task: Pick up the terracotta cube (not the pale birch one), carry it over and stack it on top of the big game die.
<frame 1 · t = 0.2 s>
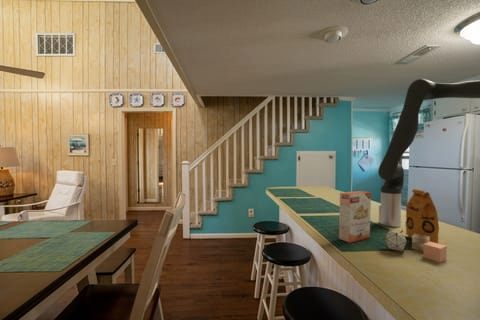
birch block: (420, 248, 95), on the kitchen counter
cracker box: (354, 239, 106), on the kitchen counter
coffee package: (421, 241, 104), on the kitchen counter
game die: (395, 250, 94), on the kitchen counter
terracotta block: (434, 258, 86), on the kitchen counter
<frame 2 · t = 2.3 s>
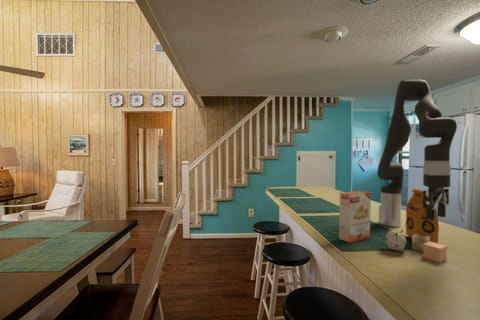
hand: (436, 218, 86), 15 cm above the kitchen counter, tool pointing down, fingers open, 8 cm apart
nothing on the kitchen counter moved.
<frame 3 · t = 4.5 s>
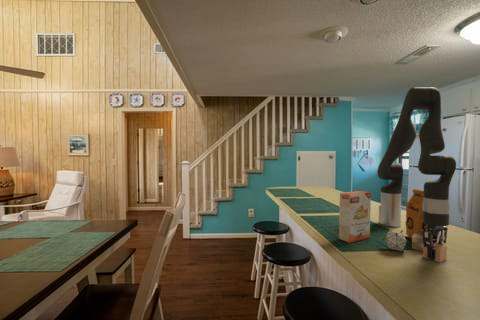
hand: (434, 256, 86), 0 cm above the kitchen counter, tool pointing down, fingers closed on terracotta block, 5 cm apart
terracotta block: (434, 258, 86), on the kitchen counter, touching gripper
everything else where it was.
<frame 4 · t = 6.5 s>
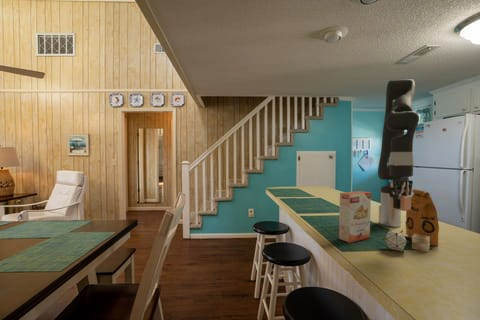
hand: (400, 207, 92), 17 cm above the kitchen counter, tool pointing down, fingers closed on terracotta block, 5 cm apart
terracotta block: (400, 208, 92), point 17 cm above the kitchen counter, touching gripper
everything else where it was.
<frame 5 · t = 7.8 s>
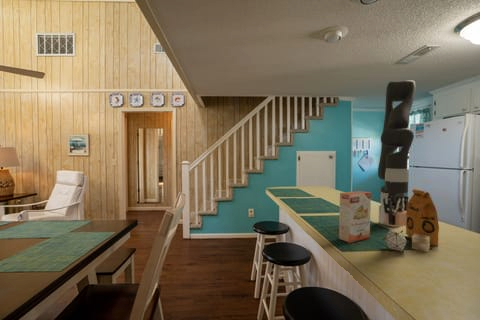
hand: (395, 223, 93), 11 cm above the kitchen counter, tool pointing down, fingers closed on terracotta block, 5 cm apart
terracotta block: (395, 224, 93), point 10 cm above the kitchen counter, touching gripper
everything else where it was.
when the fingers open (10 cm above the kitchen counter, at t = 8.9 s): terracotta block drops 1 cm, resting on game die.
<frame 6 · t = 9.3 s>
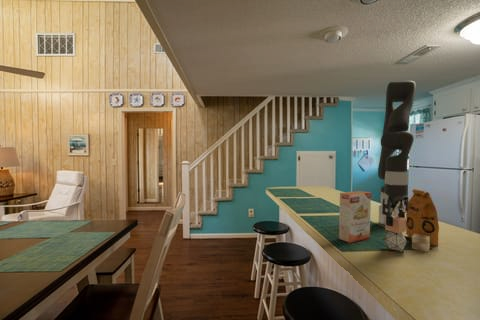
hand: (395, 224, 93), 10 cm above the kitchen counter, tool pointing down, fingers open, 8 cm apart
game die: (395, 251, 93), on the kitchen counter, touching terracotta block
terracotta block: (395, 230, 93), point 8 cm above the kitchen counter, touching game die
everything else where it was.
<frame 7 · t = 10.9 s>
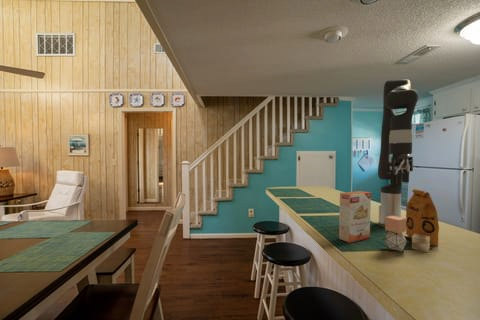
hand: (399, 183, 94), 26 cm above the kitchen counter, tool pointing down, fingers open, 8 cm apart
nothing on the kitchen counter moved.
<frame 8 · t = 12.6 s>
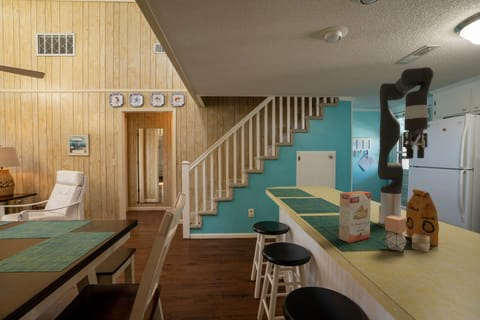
hand: (415, 158, 96), 36 cm above the kitchen counter, tool pointing down, fingers open, 8 cm apart
nothing on the kitchen counter moved.
at the end: terracotta block inside the target area on the game die (0.0 cm from its centre), point 8.2 cm above the game die's base; terracotta block tilted 0°; the gripper is holding nothing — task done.
